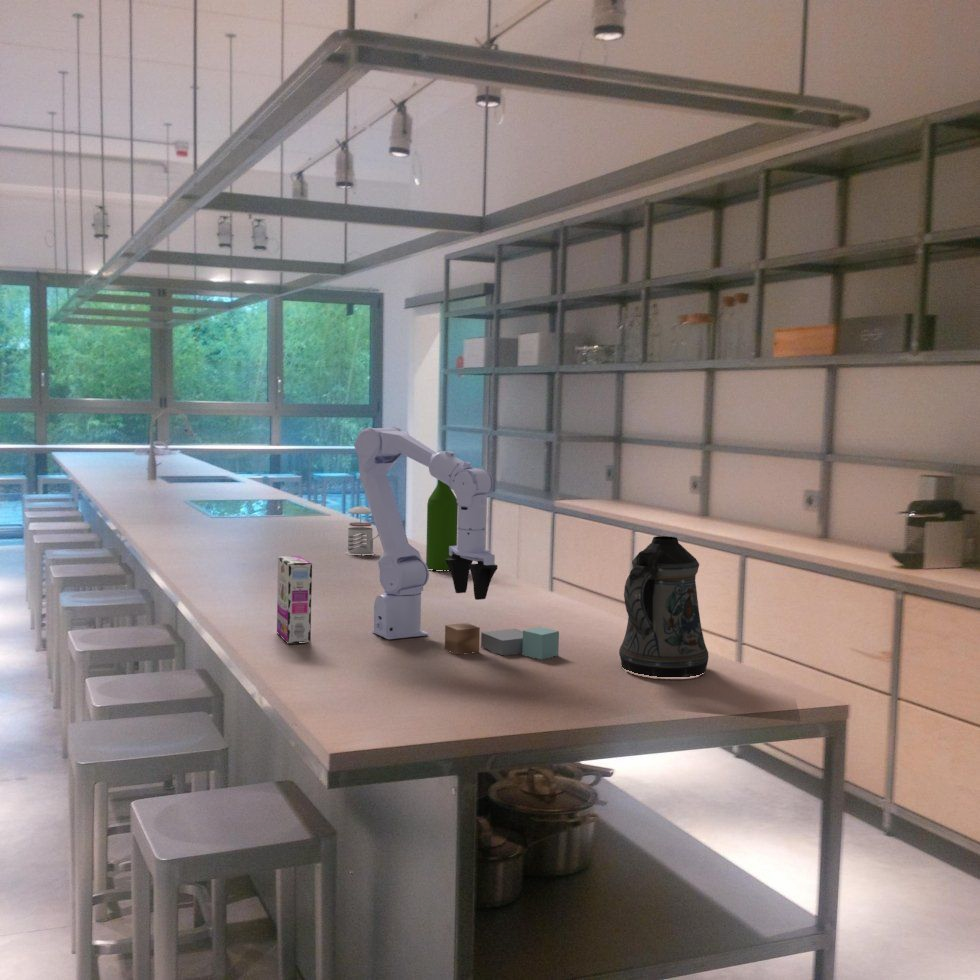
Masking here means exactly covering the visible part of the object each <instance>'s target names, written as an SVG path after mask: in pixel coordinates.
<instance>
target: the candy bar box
mask: <svg viewBox="0 0 980 980" xmlns="http://www.w3.org/2000/svg"><path fill="white" fill-rule="evenodd" d="M312 586H313V563H312V562H311V561H309V560H308V559H305V558H303V557H302V556H301V555H284V556H278V557H277V601H276V604H277V605H276V609H277V610H276V633H277V632H278V633H279V634H280V635H281V636H282V637H283V638H284V639H285V640H286V641H287V642H288V643H299V642H310V643H311V639H312V638H311V635H312V633H311V628H312V592H313V591H312V590H313V589H312Z"/></svg>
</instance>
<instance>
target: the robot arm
mask: <svg viewBox="0 0 980 980" xmlns="http://www.w3.org/2000/svg"><path fill="white" fill-rule="evenodd" d="M353 446H354V449H355V453H356V456H357V458H358V459H357V460H358V472H359V476H360V478H361V480H360V482H361V485H362V486H363V490H364V493H365V497H366V499H367V502H368V505H369V509H371V517H372V516H373V517H372V519H373V521H374V525H375V528H376V531H377V535H379V536H378V538H379V541H380V543H381V547H382V550H383V552H382V555H381V556H380V557H379V559H378V561H377V564H378V567H379V576H378V577H379V583H380V585H381V587H382V589H384V593H383V594H379V595H377V596H376V597H375V598H374V599H375V600H374V603H373V604H374V606H373V608H374V609H373V629H372V632H371V633H374V634H375V635H378V636H380V637H382V638H384V639H386V640H396V639H398V640H399V639H405V638H415V637H423V636H424V637H425V636H429V633H428V631H424V630H421V627H422V626H421V625H422V624H421V623H422V621H421V619H422V617H421V615H422V592H424V587H425V585H427V584H428V581H429V578H430V570H428V567H427V565H426V561H424V560H423V559H422V557H421V554H420V551H419V550H418V549H417V548H415V547H414V546H413V545H411V544H410V543H409V540H408V537H407V534H406V530H405V528H404V525H403V524H404V523H403V521H402V518H401V516H400V513H399V508H398V506H397V503H396V500H395V497H394V493H393V491H392V487H391V484H390V482H389V479H388V473H389V471H390V469H392V468H393V466H394V465H395V464H396V462H397V461H398V460H399V459H400V458H401V456H402V455H404V456H405V457H408V458H409V459H411V460H413V461H415V462H417V463H419V464H422V465H423V466H424V467H427V468H428V472H429V474H430V476H431V477H433V478H435V479H436V480H437V481H438V480H440V481H442V482H443V483H445V484H447V485H448V486H449V487H450V488H451V489H452V492H453V493H454V495H455V497H456V499H457V503H458V524H457V546H449V555H450V556H452V557H451V558H447V559H446V563H447V565H448V567H449V569H450V571H449V572H450V575H451V578H452V582H453V586H454V591H455V592H454V593H456V594H463V593H467V589H468V583H469V575H470V574H469V573H471V577H472V584H473V596H474V599H475V600H477V601H478V600H486V598H487V596H488V590H489V588H490V587H489V586H490V584H491V582H492V578H493V577H494V574H495V573H496V571H497V569H498V564H496V563H495V562H496V561H495V560H496V559H495V558H496V556H495V555H496V554H494V553H493V554H492V553H491V549H488V548H487V547H486V546H487V516H488V515H487V513H488V512H487V509H488V508H487V507H488V495H489V494H490V493H491V492H492V490H493V486H494V479H493V476H492V474H491V473H490V472H489V470H487V469H486V468H485V467H482V466H479V467H475V468H474V467H473V465H472V463H471V462H469V461H464V460H462V459H460V458H458V457H456V456H455V452H453V451H451V450H443V451H438V452H436V451H435V450H433V449H431V448H430V447H428V446H427V445H425V444H424V443H422V442H421V441H419V440H417V439H416V438H415V437H413V436H411V435H410V433H409V432H408V431H405V430H402V429H401V428H399V427H396V426H394V427H389V428H388V427H384V428H383V427H379V428H378V427H377V428H376V427H375V428H373V427H365V428H362V430H361V431H360V432H359V433H358V435H357V437H356V440H355V443H354V445H353ZM474 562H475V563H474Z"/></svg>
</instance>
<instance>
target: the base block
mask: <svg viewBox="0 0 980 980" xmlns="http://www.w3.org/2000/svg"><path fill="white" fill-rule="evenodd" d="M480 635H481V637H480V647H481V648H482V647H483V648H482V649H485V648H486V649H485V650H487V649H488V651H489V650H490V652H492V651H493V652H492V653H494V652H495V654H497V653H498V654H497V655H499V654H500V655H499V656H501V655H504V656H510V654H512V655H519V654H518V653H520V654H522V647H523V631H522V630H520V629H517V628H510V629H501V630H500V629H499V630H491V631H481V634H480Z"/></svg>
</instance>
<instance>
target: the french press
mask: <svg viewBox="0 0 980 980" xmlns="http://www.w3.org/2000/svg"><path fill="white" fill-rule="evenodd" d="M357 480H358V481H359V480H360V481H361V478H360V475H359V476H358V478H357ZM359 499H360V505H358V506H354V507H352V508H350V509H348V510H347V513H348V514H352V515H359V519H360V520H359V522H350V523H349V524H348V525H349V526H351V527H348V529H347V530H348V531H347V532H348V534H347V551H345V553H350V554H361V555H362V554H373V553H375V551H374V539H377V538H379V535H378V534H377V535H376V536H375V537H373V532H374V531H373V528H372V523H371V522H362V515H371V519H370V521H374V519H373V516H372V513H371V509H370V507H367V506H363V505H362V498H359ZM370 526H371V527H370ZM365 543H366V544H365Z"/></svg>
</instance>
